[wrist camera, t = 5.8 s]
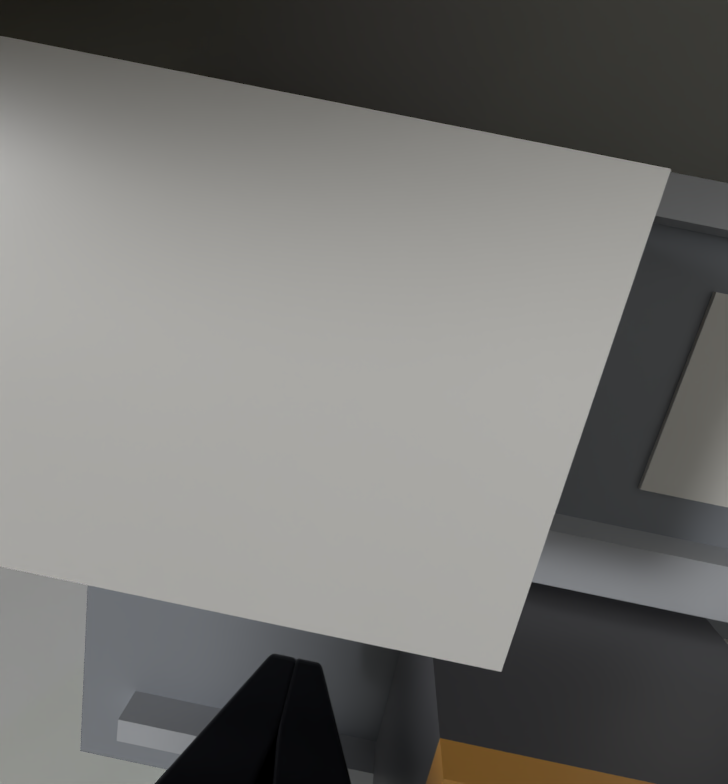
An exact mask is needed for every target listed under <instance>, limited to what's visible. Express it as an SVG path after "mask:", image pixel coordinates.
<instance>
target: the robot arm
mask: <svg viewBox="0 0 728 784" xmlns="http://www.w3.org/2000/svg"><path fill="white" fill-rule="evenodd" d="M155 784H351V781H350V777H349V773H348V769H347V765H346V761H345V757H344V753H343V749H342V745H341V741H340V736H339V732H338V728H337V724H336V720H335V716H334V712H333V708H332V704H331V700H330V696H329V692H328V688H327V684H326V680H325V676H324V672H323V668H322V666H321V664H320V663H318V662H314V661H309V660H304V659H295V658H294V657H290V656H285V655H280V654H275V653H274V654H271V655H270V656H268V657H267V659H266V660H265V661H264V662H263V663H262V664H261V665H260V666H259V667H258V669H257V670H256V671H255V672H254V673H253V674H252V675H251V676H250V678H249V679H248V680H247V681H246V682H245V683H244V684H243V685H242V686H241V688H240V689H239V690H238V691H237V692H236V693H235V694H234V695H233V697H232V698H231V699H230V700H229V701H228V702H227V703H226V704H225V706H224V707H223V708H222V709H221V710H220V711H219V712H218V713H217V714H216V716H215V717H214V718H213V719H212V720H211V721H210V722H209V723H208V725H207V726H206V727H205V728H204V729H203V730H202V731H201V732H200V733H199V735H198V736H197V737H196V738H195V739H194V740H193V741H192V742H191V744H190V745H189V746H188V747H187V748H186V749H185V750H184V751H183V753H182V754H181V755H180V756H179V757H178V758H177V759H176V760H175V761H174V763H173V764H172V765H171V766H170V767H169V768H168V769H167V770H166V772H165V773H164V774H163V775H162V776H161V777H160V778H159V779H158V780H157V782H156V783H155Z"/></svg>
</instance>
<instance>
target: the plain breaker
mask: <svg viewBox="0 0 728 784" xmlns="http://www.w3.org/2000/svg"><path fill="white" fill-rule="evenodd" d="M670 171H671V169H669V168H664V167H659V166H654V165H649V164H644V163H639V162H634V161H629V160H624V159H619V158H614V157H609V156H604V155H599V154H594V153H589V152H584V151H579V150H574V149H569V148H564V147H559V146H554V145H548V144H543V143H538V142H533V141H528V140H523V139H518V138H513V137H508V136H503V135H498V134H493V133H488V132H483V131H478V130H473V129H468V128H463V127H458V126H453V125H448V124H443V123H438V122H433V121H428V120H423V119H418V118H412V117H407V116H402V115H397V114H392V113H387V112H382V111H377V110H372V109H367V108H362V107H357V106H352V105H347V104H342V103H337V102H332V101H327V100H322V99H317V98H312V97H307V96H302V95H297V94H292V93H287V92H282V91H276V90H271V89H266V88H261V87H256V86H251V85H246V84H241V83H236V82H231V81H226V80H221V79H216V78H211V77H206V76H201V75H196V74H191V73H186V72H181V71H176V70H171V69H166V68H161V67H156V66H151V65H145V64H140V63H135V62H130V61H125V60H120V59H115V58H110V57H105V56H100V55H95V54H90V53H85V52H80V51H75V50H70V49H65V48H60V47H55V46H50V45H45V44H40V43H35V42H30V41H25V40H20V39H15V38H9V37H4V36H0V567H3V568H8V569H13V570H18V571H23V572H27V573H32V574H37V575H42V576H46V577H51V578H56V579H61V580H65V581H70V582H75V583H80V584H85V585H89V586H94V587H99V588H104V589H108V590H113V591H118V592H123V593H127V594H132V595H137V596H142V597H147V598H151V599H156V600H161V601H166V602H170V603H175V604H180V605H185V606H189V607H194V608H199V609H204V610H208V611H213V612H218V613H223V614H228V615H232V616H237V617H242V618H247V619H251V620H256V621H261V622H266V623H270V624H275V625H280V626H285V627H290V628H294V629H299V630H304V631H309V632H313V633H318V634H323V635H328V636H332V637H337V638H342V639H347V640H352V641H356V642H361V643H366V644H371V645H375V646H380V647H385V648H390V649H394V650H399V651H404V652H409V653H414V654H418V655H423V656H428V657H433V658H437V659H442V660H447V661H452V662H456V663H461V664H466V665H471V666H476V667H480V668H485V669H490V670H495V671H499V672H501V671H502V668H503V665H504V662H505V659H506V656H507V653H508V650H509V648H510V645H511V642H512V639H513V636H514V633H515V630H516V627H517V624H518V621H519V618H520V615H521V612H522V609H523V606H524V603H525V600H526V597H527V594H528V591H529V588H530V585H531V582H532V579H533V577H534V574H535V571H536V568H537V565H538V562H539V559H540V556H541V553H542V550H543V547H544V544H545V541H546V538H547V535H548V532H549V529H550V526H551V523H552V520H553V517H554V514H555V511H556V508H557V505H558V503H559V500H560V497H561V494H562V491H563V488H564V485H565V482H566V479H567V476H568V473H569V470H570V467H571V464H572V461H573V458H574V455H575V452H576V449H577V446H578V443H579V440H580V437H581V434H582V432H583V429H584V426H585V423H586V420H587V417H588V414H589V411H590V408H591V405H592V402H593V399H594V396H595V393H596V390H597V387H598V384H599V381H600V378H601V375H602V372H603V369H604V366H605V363H606V361H607V358H608V355H609V352H610V349H611V346H612V343H613V340H614V337H615V334H616V331H617V328H618V325H619V322H620V319H621V316H622V313H623V310H624V307H625V304H626V301H627V298H628V295H629V292H630V290H631V287H632V284H633V281H634V278H635V275H636V272H637V269H638V266H639V263H640V260H641V257H642V254H643V251H644V248H645V245H646V242H647V239H648V236H649V233H650V230H651V227H652V224H653V221H654V218H655V216H656V213H657V210H658V207H659V204H660V201H661V198H662V195H663V192H664V189H665V186H666V183H667V180H668V177H669V174H670Z"/></svg>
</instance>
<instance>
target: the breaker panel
mask: <svg viewBox="0 0 728 784" xmlns="http://www.w3.org/2000/svg"><path fill="white" fill-rule="evenodd" d="M532 582H534V583H538V584H543V585H548V586H553V587H558V588H562V589H567V590H572V591H577V592H582V593H586V594H591V595H596V596H601V597H606V598H611V599H615V600H620V601H625V602H630V603H635V604H639V605H644V606H649V607H654V608H659V609H664V610H668V611H673V612H678V613H683V614H688V615H692V616H697V617H702V618H706V619H707V620H708V622H709V623H710V624H711V625H712V626H713V628H714V629H715V630H716V631H717V632H718V633H719V635H720V636H721V637H722V638H723V639H724V641H725V642H726V643H727V644H728V183H725V182H719V181H714V180H709V179H704V178H699V177H694V176H689V175H684V174H679V173H674V172H670V174H669V177H668V180H667V183H666V186H665V189H664V192H663V195H662V198H661V201H660V204H659V207H658V210H657V213H656V216H655V218H654V221H653V224H652V227H651V230H650V233H649V236H648V239H647V242H646V245H645V248H644V251H643V254H642V257H641V260H640V263H639V266H638V269H637V272H636V275H635V278H634V281H633V284H632V287H631V290H630V292H629V295H628V298H627V301H626V304H625V307H624V310H623V313H622V316H621V319H620V322H619V325H618V328H617V331H616V334H615V337H614V340H613V343H612V346H611V349H610V352H609V355H608V358H607V361H606V363H605V366H604V369H603V372H602V375H601V378H600V381H599V384H598V387H597V390H596V393H595V396H594V399H593V402H592V405H591V408H590V411H589V414H588V417H587V420H586V423H585V426H584V429H583V432H582V434H581V437H580V440H579V443H578V446H577V449H576V452H575V455H574V458H573V461H572V464H571V467H570V470H569V473H568V476H567V479H566V482H565V485H564V488H563V491H562V494H561V497H560V500H559V503H558V505H557V508H556V511H555V514H554V517H553V520H552V523H551V526H550V529H549V532H548V535H547V538H546V541H545V544H544V547H543V550H542V553H541V556H540V559H539V562H538V565H537V568H536V571H535V574H534V577H533V579H532ZM274 653H275V654H280V655H285V656H290V657H294V658H295V659H304V660H309V661H314V662H318V663H320V664H321V666H322V668H323V672H324V676H325V680H326V684H327V688H328V692H329V696H330V700H331V704H332V708H333V712H334V716H335V720H336V724H337V728H338V732H339V736H340V741H341V745H342V749H343V753H344V757H345V761H346V765H347V769H348V773H349V777H350V781H351V784H373V774H374V753H375V745H376V742H377V738H378V734H379V730H380V726H381V723H382V719H383V715H384V711H385V707H386V704H387V700H388V696H389V692H390V688H391V685H392V681H393V677H394V673H395V669H396V666H397V662H398V658H399V654H400V651H399V650H394V649H390V648H385V647H380V646H375V645H371V644H366V643H361V642H356V641H352V640H347V639H342V638H337V637H332V636H328V635H323V634H318V633H313V632H309V631H304V630H299V629H294V628H290V627H285V626H280V625H275V624H270V623H266V622H261V621H256V620H251V619H247V618H242V617H237V616H232V615H228V614H223V613H218V612H213V611H208V610H204V609H199V608H194V607H189V606H185V605H180V604H175V603H170V602H166V601H161V600H156V599H151V598H147V597H142V596H137V595H132V594H127V593H123V592H118V591H113V590H108V589H104V588H99V587H94V586H89V585H88V590H87V613H86V636H85V659H84V681H83V704H82V727H81V750H80V751H83V752H88V753H93V754H97V755H102V756H107V757H111V758H116V759H121V760H126V761H130V762H135V763H140V764H144V765H149V766H154V767H158V768H163V769H168V768H169V767H170V766H171V765H172V764H173V763H174V761H175V760H176V759H177V758H178V757H179V756H180V755H181V754H182V753H183V751H184V750H185V749H186V748H187V747H188V746H189V745H190V744H191V742H192V741H193V740H194V739H195V738H196V737H197V736H198V735H199V733H200V732H201V731H202V730H203V729H204V728H205V727H206V726H207V725H208V723H209V722H210V721H211V720H212V719H213V718H214V717H215V716H216V714H217V713H218V712H219V711H220V710H221V709H222V708H223V707H224V706H225V704H226V703H227V702H228V701H229V700H230V699H231V698H232V697H233V695H234V694H235V693H236V692H237V691H238V690H239V689H240V688H241V686H242V685H243V684H244V683H245V682H246V681H247V680H248V679H249V678H250V676H251V675H252V674H253V673H254V672H255V671H256V670H257V669H258V667H259V666H260V665H261V664H262V663H263V662H264V661H265V660H266V659H267V657H268V656H270V655H271V654H274Z"/></svg>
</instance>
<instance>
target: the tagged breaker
mask: <svg viewBox="0 0 728 784" xmlns="http://www.w3.org/2000/svg"><path fill="white" fill-rule="evenodd" d="M373 784H728V644H727V643H726V642H725V641H724V639H723V638H722V637H721V636H720V635H719V633H718V632H717V631H716V630H715V629H714V628H713V626H712V625H711V624H710V623H709V622H708V620H707V619H706V618H702V617H697V616H692V615H688V614H683V613H678V612H673V611H668V610H664V609H659V608H654V607H649V606H644V605H639V604H635V603H630V602H625V601H620V600H615V599H611V598H606V597H601V596H596V595H591V594H586V593H582V592H577V591H572V590H567V589H562V588H558V587H553V586H548V585H543V584H538V583H534V582H531V585H530V588H529V591H528V594H527V597H526V600H525V603H524V606H523V609H522V612H521V615H520V618H519V621H518V624H517V627H516V630H515V633H514V636H513V639H512V642H511V645H510V648H509V650H508V653H507V656H506V659H505V662H504V665H503V668H502V671H501V672H499V671H495V670H490V669H485V668H480V667H476V666H471V665H466V664H461V663H456V662H452V661H447V660H442V659H437V658H433V657H428V656H423V655H418V654H414V653H409V652H404V651H400V654H399V658H398V662H397V666H396V669H395V673H394V677H393V681H392V685H391V688H390V692H389V696H388V700H387V704H386V707H385V711H384V715H383V719H382V723H381V726H380V730H379V734H378V738H377V742H376V745H375V753H374V774H373Z"/></svg>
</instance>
